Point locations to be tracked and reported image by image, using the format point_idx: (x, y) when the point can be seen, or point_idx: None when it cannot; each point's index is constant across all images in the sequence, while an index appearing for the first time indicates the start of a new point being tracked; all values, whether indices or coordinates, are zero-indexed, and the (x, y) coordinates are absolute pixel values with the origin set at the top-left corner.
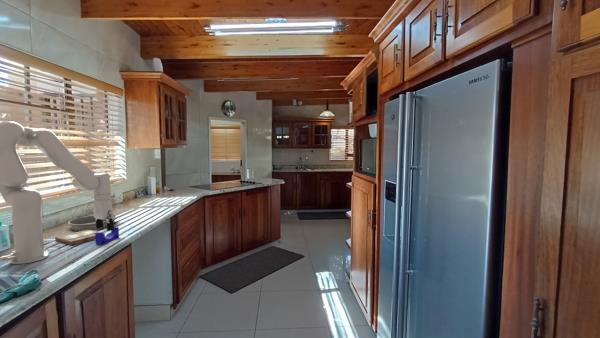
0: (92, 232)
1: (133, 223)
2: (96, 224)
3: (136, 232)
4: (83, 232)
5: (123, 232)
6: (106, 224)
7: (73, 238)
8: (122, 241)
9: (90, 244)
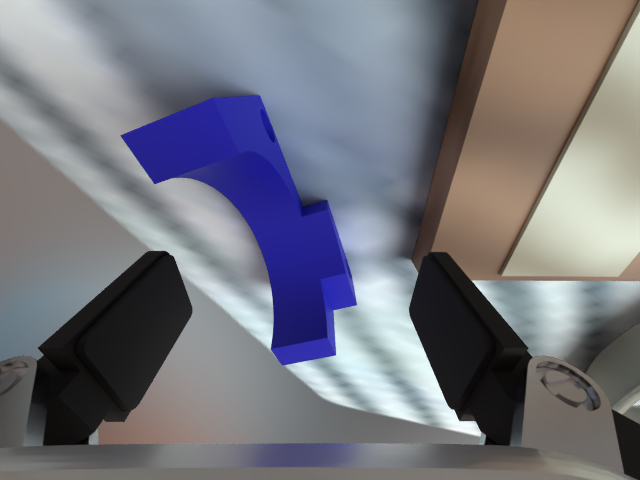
0: (557, 246)
1: (472, 424)
2: (468, 293)
3: (303, 369)
4: None
5: (377, 347)
6: (605, 381)
7: None
8: None
9: (313, 64)
